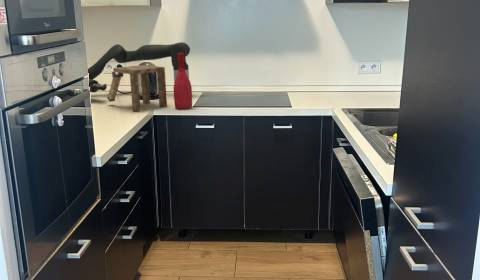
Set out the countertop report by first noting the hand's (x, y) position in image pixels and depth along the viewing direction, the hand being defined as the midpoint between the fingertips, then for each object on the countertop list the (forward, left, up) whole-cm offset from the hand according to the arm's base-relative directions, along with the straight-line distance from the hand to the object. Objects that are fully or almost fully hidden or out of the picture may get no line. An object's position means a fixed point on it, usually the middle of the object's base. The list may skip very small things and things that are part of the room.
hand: (104, 88), depth 278 cm
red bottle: (-23, +46, -9) cm, 52 cm away
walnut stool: (-9, +26, -9) cm, 28 cm away
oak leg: (0, +7, -6) cm, 9 cm away
